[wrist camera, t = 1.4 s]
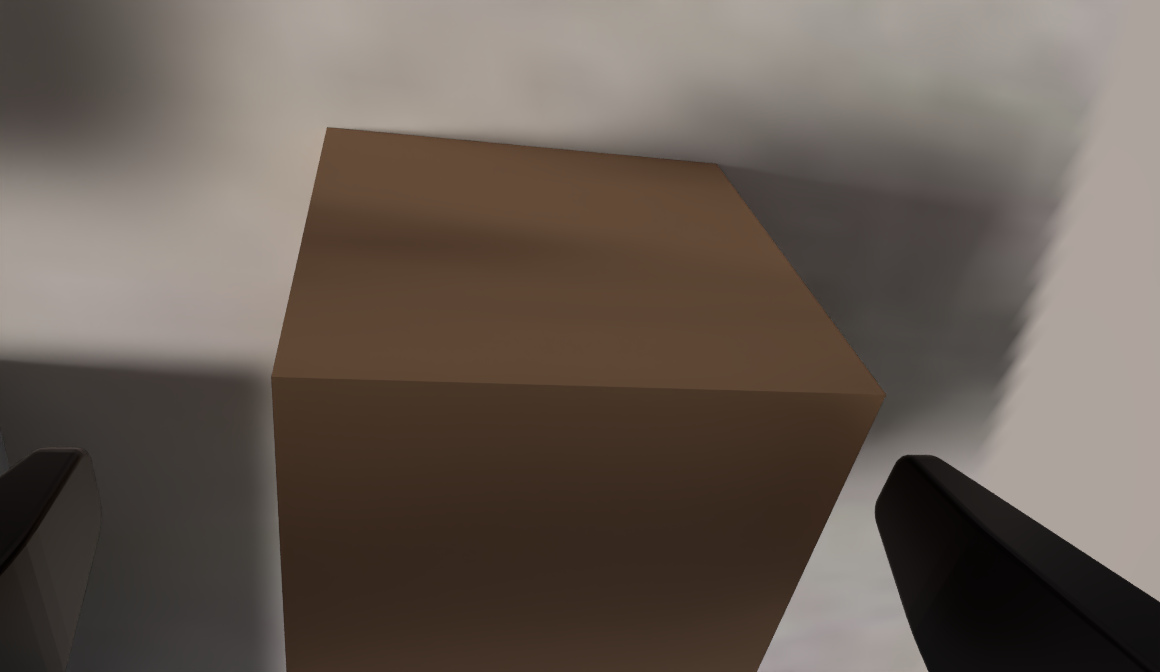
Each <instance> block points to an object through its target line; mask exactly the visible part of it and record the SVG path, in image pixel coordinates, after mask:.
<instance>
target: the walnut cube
mask: <svg viewBox="0 0 1160 672" xmlns="http://www.w3.org/2000/svg"><path fill="white" fill-rule="evenodd" d="M271 380H272V400H273V419H274V438H275V458H276V477H277V497H278V516H279V535H280V555H281V574H282V593H283V613H284V632H285V651H286V671H287V672H757V670H758V668H759V666H760V664H761V662H762V660H763V657H764V655H765V653H766V651H767V649H768V647H769V645H770V642H771V640H772V638H773V636H774V634H775V632H776V630H777V627H778V625H779V623H780V621H781V619H782V617H783V615H784V612H785V610H786V608H787V606H788V604H789V602H790V600H791V597H792V595H793V593H794V591H795V589H796V587H797V585H798V582H799V580H800V578H801V576H802V574H803V572H804V569H805V567H806V565H807V563H808V561H809V559H810V557H811V554H812V552H813V550H814V548H815V546H816V544H817V542H818V539H819V537H820V535H821V533H822V531H823V529H824V527H825V524H826V522H827V520H828V518H829V516H830V514H831V512H832V509H833V507H834V505H835V503H836V501H837V499H838V497H839V494H840V492H841V490H842V488H843V486H844V484H845V482H846V479H847V477H848V475H849V473H850V471H851V469H852V467H853V464H854V462H855V460H856V458H857V456H858V454H859V452H860V449H861V447H862V445H863V443H864V441H865V439H866V437H867V434H868V432H869V430H870V428H871V426H872V424H873V422H874V419H875V417H876V415H877V413H878V411H879V409H880V406H881V404H882V402H883V400H884V398H885V396H886V394H885V392H884V391H883V390H882V388H881V387H880V386H879V384H878V383H877V382H876V380H875V379H874V377H873V376H872V375H871V373H870V372H869V371H868V369H867V368H866V367H865V365H864V364H863V363H862V361H861V360H860V358H859V357H858V356H857V354H856V353H855V352H854V350H853V349H852V348H851V346H850V345H849V343H848V342H847V341H846V339H845V338H844V337H843V335H842V334H841V333H840V331H839V330H838V328H837V327H836V326H835V324H834V323H833V322H832V320H831V319H830V318H829V316H828V315H827V314H826V312H825V311H824V309H823V308H822V307H821V305H820V304H819V303H818V301H817V300H816V299H815V297H814V296H813V294H812V293H811V292H810V290H809V289H808V288H807V286H806V285H805V284H804V282H803V281H802V279H801V278H800V277H799V275H798V274H797V273H796V271H795V270H794V269H793V267H792V266H791V264H790V263H789V262H788V260H787V259H786V258H785V256H784V255H783V254H782V252H781V251H780V250H779V248H778V247H777V245H776V244H775V243H774V241H773V240H772V239H771V237H770V236H769V235H768V233H767V232H766V230H765V229H764V228H763V226H762V225H761V224H760V222H759V221H758V220H757V218H756V217H755V215H754V214H753V213H752V211H751V210H750V209H749V207H748V206H747V205H746V203H745V202H744V201H743V199H742V198H741V196H740V195H739V194H738V192H737V191H736V190H735V188H734V187H733V186H732V184H731V183H730V181H729V180H728V179H727V177H726V176H725V175H724V173H723V172H722V171H721V169H720V168H719V166H718V165H717V164H713V163H702V162H691V161H681V160H670V159H659V158H649V157H638V156H627V155H617V154H606V153H595V152H585V151H574V150H563V149H553V148H542V147H531V146H520V145H510V144H499V143H488V142H478V141H467V140H456V139H446V138H435V137H424V136H414V135H403V134H392V133H382V132H371V131H360V130H349V129H339V128H328V127H327V130H326V134H325V139H324V143H323V148H322V152H321V156H320V161H319V165H318V170H317V174H316V179H315V183H314V188H313V192H312V197H311V201H310V206H309V210H308V215H307V219H306V224H305V228H304V233H303V237H302V242H301V246H300V251H299V255H298V260H297V264H296V269H295V273H294V278H293V282H292V287H291V291H290V295H289V300H288V304H287V309H286V313H285V318H284V322H283V327H282V331H281V336H280V340H279V345H278V349H277V354H276V358H275V363H274V367H273V372H272V376H271Z"/></svg>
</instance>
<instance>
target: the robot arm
mask: <svg viewBox="0 0 1160 672" xmlns="http://www.w3.org/2000/svg"><path fill="white" fill-rule="evenodd" d="M101 518H102V511H101V503H100V498H99V494H98V489H97V484H96V480H95V475H94V470H93V466H92V461H91V458H90V456H89V454H88V452H87V451H86V450H84V449H82V448H78V447H44V448H39V449H37V450H35V451H33V452H31V453H30V454H29V455H27V456H26V457H24V458H23V459H22V460H20V461H19V462H18V463H16V464H15V465H14V466H12V467H11V468H10V469H8V470H7V471H5V472H4V473H3V474H1V475H0V672H65V670H66V667H67V663H68V659H69V655H70V652H71V648H72V644H73V639H74V635H75V631H76V627H77V623H78V619H79V615H80V611H81V607H82V602H83V598H84V594H85V590H86V586H87V582H88V578H89V574H90V570H91V565H92V561H93V557H94V553H95V549H96V545H97V541H98V537H99V533H100V528H101ZM875 519H876V524H877V527H878V530H879V533H880V536H881V539H882V542H883V546H884V549H885V552H886V555H887V558H888V561H889V564H890V567H891V570H892V574H893V577H894V580H895V583H896V586H897V589H898V592H899V595H900V598H901V601H902V605H903V608H904V611H905V614H906V617H907V620H908V623H909V625H910V628H911V631H912V634H913V636H914V639H915V641H916V644H917V646H918V649H919V651H920V654H921V656H922V658H923V660H924V663H925V665H926V667H927V670H928V672H1160V602H1159V601H1157V600H1156V599H1154V598H1153V597H1151V596H1150V595H1148V594H1147V593H1145V592H1143V591H1142V590H1141V589H1139V588H1138V587H1136V586H1134V585H1133V584H1131V583H1130V582H1128V581H1127V580H1125V579H1124V578H1122V577H1121V576H1119V575H1118V574H1116V573H1114V572H1113V571H1111V570H1110V569H1108V568H1107V567H1105V566H1104V565H1102V564H1101V563H1099V562H1098V561H1096V560H1095V559H1093V558H1091V557H1090V556H1088V555H1087V554H1085V553H1084V552H1082V551H1081V550H1079V549H1078V548H1076V547H1075V546H1073V545H1072V544H1070V543H1069V542H1067V541H1065V540H1064V539H1062V538H1061V537H1059V536H1058V535H1056V534H1055V533H1053V532H1052V531H1050V530H1049V529H1047V528H1046V527H1044V526H1043V525H1041V524H1039V523H1038V522H1036V521H1035V520H1033V519H1032V518H1030V517H1029V516H1027V515H1026V514H1024V513H1022V512H1021V511H1019V510H1018V509H1016V508H1015V507H1013V506H1012V505H1010V504H1009V503H1007V502H1006V501H1004V500H1003V499H1001V498H1000V497H998V496H997V495H995V494H994V493H992V492H990V491H989V490H987V489H986V488H984V487H983V486H981V485H980V484H978V483H977V482H975V481H974V480H972V479H971V478H969V477H967V476H966V475H964V474H963V473H961V472H960V471H958V470H957V469H955V468H954V467H952V466H951V465H949V464H948V463H946V462H944V461H943V460H941V459H940V458H938V457H936V456H932V455H905V456H902V457H901V458H900V459H898V460H897V462H896V463H895V465H894V467H893V469H892V471H891V473H890V475H889V477H888V479H887V481H886V483H885V485H884V487H883V489H882V491H881V493H880V495H879V497H878V499H877V501H876V505H875Z"/></svg>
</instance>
